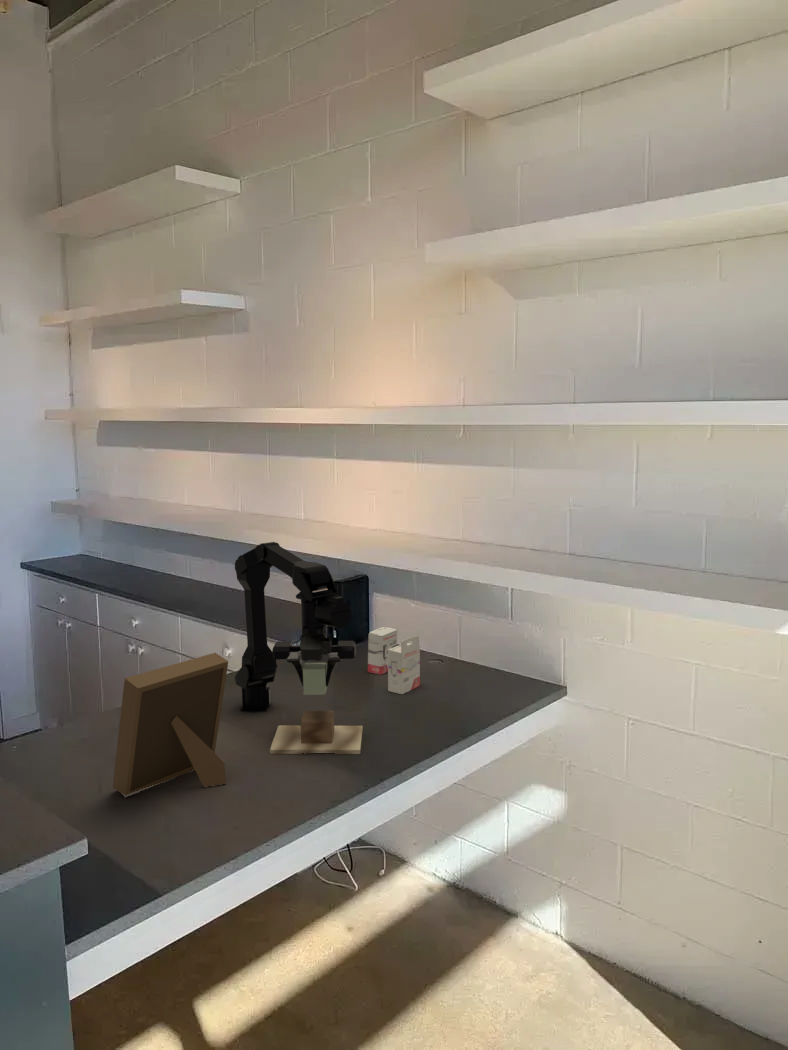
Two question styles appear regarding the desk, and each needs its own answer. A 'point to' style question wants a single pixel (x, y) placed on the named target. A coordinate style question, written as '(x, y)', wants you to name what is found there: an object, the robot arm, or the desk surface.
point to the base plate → (338, 747)
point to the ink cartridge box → (404, 666)
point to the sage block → (314, 678)
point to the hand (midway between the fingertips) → (315, 686)
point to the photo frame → (171, 724)
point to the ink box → (380, 649)
